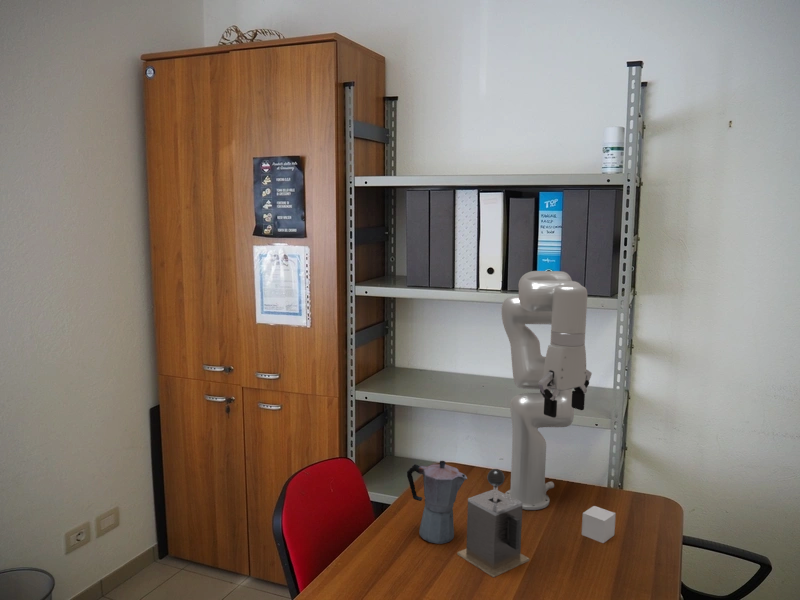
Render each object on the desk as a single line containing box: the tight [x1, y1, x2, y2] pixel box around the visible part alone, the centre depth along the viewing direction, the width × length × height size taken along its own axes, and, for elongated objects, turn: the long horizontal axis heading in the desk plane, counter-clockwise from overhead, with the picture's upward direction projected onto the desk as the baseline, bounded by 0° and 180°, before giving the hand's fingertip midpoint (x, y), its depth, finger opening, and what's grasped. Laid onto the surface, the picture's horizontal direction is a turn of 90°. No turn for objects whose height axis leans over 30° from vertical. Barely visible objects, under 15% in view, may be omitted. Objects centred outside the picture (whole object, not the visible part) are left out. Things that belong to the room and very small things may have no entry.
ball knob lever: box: [487, 468, 505, 503], centre depth 147 cm, size 6×6×17 cm
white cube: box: [581, 505, 617, 544], centre depth 160 cm, size 6×6×6 cm
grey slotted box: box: [456, 489, 530, 578], centre depth 148 cm, size 12×13×14 cm
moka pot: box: [406, 460, 468, 545], centre depth 158 cm, size 10×15×20 cm, turn 78°
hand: (564, 412), depth 144 cm, fingers open, 9 cm apart
